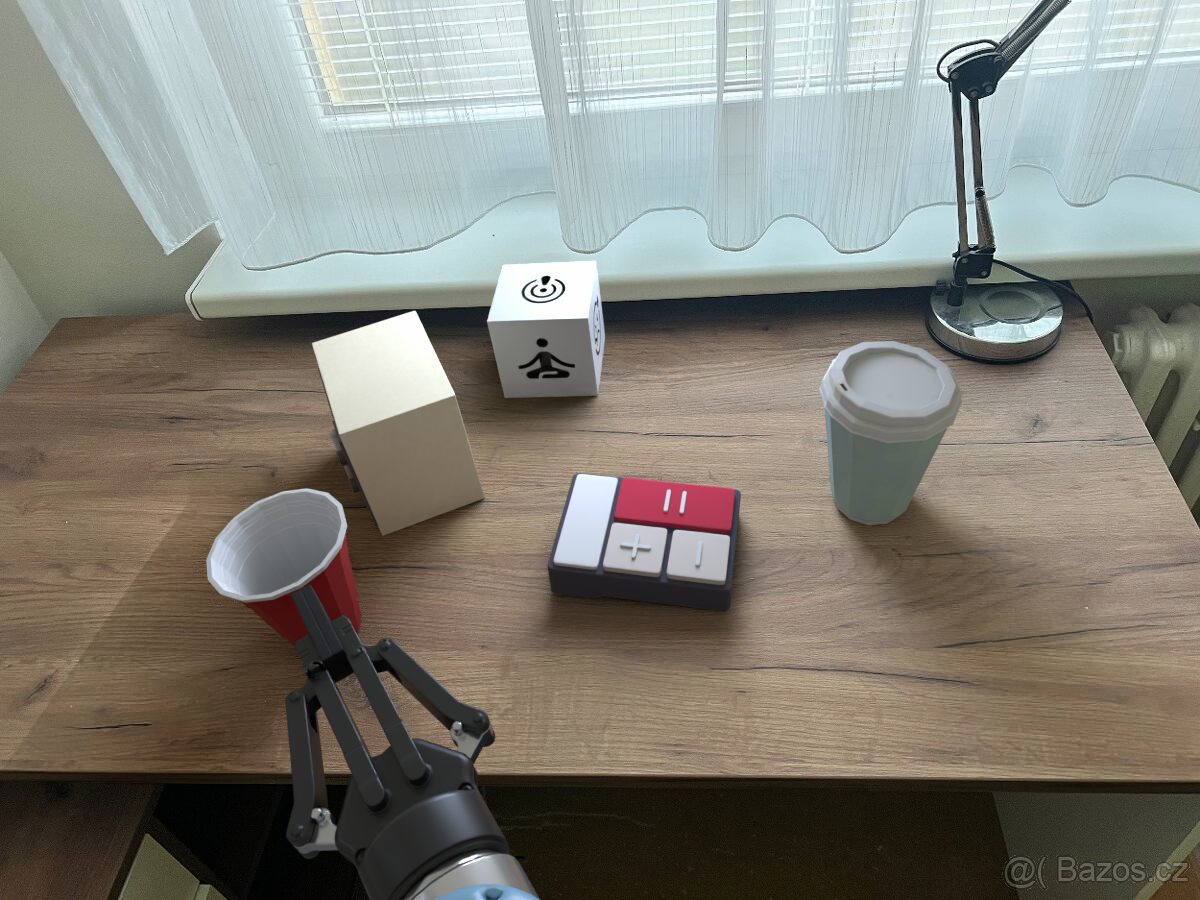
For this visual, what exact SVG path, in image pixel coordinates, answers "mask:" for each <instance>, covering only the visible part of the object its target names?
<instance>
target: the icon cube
mask: <svg viewBox="0 0 1200 900" xmlns="http://www.w3.org/2000/svg"><path fill="white" fill-rule="evenodd" d="M491 302H492V303H491V306H490V309H489V313H488V316H487V317H488V318H487V320H486V323H487V327H488V331H489V336H490V341H491V345H492V349H493V354H494V358H495V361H496V362H495V363H496V367H497V370H498V371H497V372H498V374H499V375H498V376H499V378H500V383H501V388H502V391H503V397H504V399H509V398H511V399H512V398H513V399H514V398H558V397H599V394H600V393H599V391H600V383H601V377H602V376H601V375H602V369H603V368H602V367H603V358H604V351H605V350H604V349H605V342H606V331H605V323H604V315H603V307H602V298H601V290H600V282H599V273H598V266H597V260H583V261H580V260H579V261H559V262H535V263H513V264H512V263H511V264H502V266H501V270H500V273H499V277H498V280H497V285H496V288H495V292H494V295H493V298H492V301H491Z"/></svg>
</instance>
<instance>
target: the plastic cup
mask: <svg viewBox="0 0 1200 900" xmlns="http://www.w3.org/2000/svg"><path fill="white" fill-rule="evenodd" d="M347 528H348V524H347V520H346V516H345V512H344V507H343V504H342V503H341V502H339V501H338V500H337V499H336V498H335V497H334V496H333V495H331V494H330V493H329V492H326V491H321V490H317V489H311V488H300V489H292V490H291V489H290V490H283V491H280V492H277V493H275V494H273V495H270V496H267V497H265V498H262V499H260V500H258V501H256V502H254V503H253V504H251V505H250V506H249V507H247V508H245V509H244V510H243V511H241V512H240V513H238V514H237V515H235V516H234V517H233V518H231V520H230V521H229V522H228V523H227V524H226V526H225V527H224V528H223V529H222V530H221V531H220V532H219V534H218V535H217V536H216V537H215V538H214V541H213V543H212V545H211V548H210V550H209V553H208V555H207V558H206V560H205V562H206V573H207V581H208V582H209V583H210V584H211V585H212V587H214V589H215V590H216V591H217V592H218V593H219V594H220V595H221V596H223V597H225V598H228V599H232V600H235V601H237V602H239V603H242V604H243V605H244V606H245V607H246V608H248V609H250V610H252V611H253V612H254V613H255V614H256V615H257V616H258V617H259V618H261V620H263V621H264V622H265V623H266V624H267V625H268V626H269V627H270V628H272V629H273V631H275V632H276V633H277V634H278V635H279V636H280V637H282V638H284V639H286V641H288V642H289V643H290V644H291V645H292V646H293V647H294V648H295V649H296V641H297V640H299V639H301V638H303V637H305V636H307V635H308V634H309V633H308V631H307V629H306V627H305V625H304V623H303V621H302V618H301V616H300V614H299V612H298V610H297V608H296V606H295V604H294V602H293V600H292V598H291V594H293V593H295V592H297V591H299V590H301V589H303V588H304V587H306V586H308V585H310V584H311V586H312V588H313V590H314V591H315V593H316V595H317V597H318V598H319V600H320V602H321V604H322V605H323V607H324V609H325V611H326V613H327V615H328V617H329V619H330V621H333V620H335V619H337V618H339V617H341V616H342V615H344V616H345V617H347V618H349V620H350V622H351V624H352V626H353V628H354V629H355V631H356V633H357V635H358V634H359V632H360V630H361V629H360V628H361V624H362V611H361V608H360V603H359V593H358V589H357V585H356V580H355V577H354V573H353V568H352V564H351V560H350V556H349V553H350V551H349V547H348V544H347V543H348V540H347Z"/></svg>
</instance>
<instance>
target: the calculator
mask: <svg viewBox="0 0 1200 900" xmlns="http://www.w3.org/2000/svg"><path fill="white" fill-rule="evenodd" d="M741 493H742V492H741V491H740V490H739V489H736V488H730V487H722V486H711V485H702V484H693V483H683V482H675V481H664V480H653V479H645V478H635V477H620V476H611V475H603V474H602V475H601V474H593V473H582V472H575V473H574V474H573V475H572V478H571V482H570V485H569V488H568V492H567V495H566V500H565V503H564V506H563V510H562V513H561V517H560V520H559V524H558V527H557V531H556V534H555V538H554V541H553V544H552V547H551V552H550V555H549V559H548V563H547V573H548V580H549V585H550V591H551V593H553V594H554V595H560V596H561V595H562V596H568V597H577V598H584V599H590V600H591V599H592V600H594V599H597V598H602V597H607V598H615V599H622V600H623V599H625V600H631V601H632V600H633V601H639V602H646V603H647V602H649V603H654V604H662V605H671V606H678V607H687V608H694V609H701V610H702V609H703V610H710V611H718V612H727V611H728V610H729V609H730V605H731V599H732V587H733V577H734V567H735V558H736V557H735V556H736V547H737V537H738V529H739V518H740V510H741V509H740V508H741V497H742V494H741Z"/></svg>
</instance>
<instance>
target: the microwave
mask: <svg viewBox="0 0 1200 900" xmlns="http://www.w3.org/2000/svg"><path fill="white" fill-rule="evenodd" d="M311 346H312V350H313V352H314V356H315V358H316V363H317V366H318V368H317V370H318V373H319V377H320V381H321V383H322V386H323V390H324V394H325V397H326V400H327V403H328V406H329V409H330V413H331V417H332V425H333V428H334V429H331V431H330V432H329V436H330V439H331V441H332V443H333V446H334V448H335V450H336V455H337V458H338V461H339V463H340V465H341V467H343V468H344V471H345V472H346V475H347V477H348V482H349V484H350V487H351V491H352V492H353V494H359V493H360V495H361V498H362V500H363V502H364V503H365V507H366V509H367V511H368V514H369V516H370V518H371V520H372V522H373V525H374V527H375V528H376V529H377V528H378V529H379V532H380V533H381V536H383V537H384V536H386V535H389V534H392V533H395V532H398V531H400V530H402V529H405V528H408V527H411V526H414V525H416V524H418V523H423V522H425V521H427V520H429V519H430V520H431V519H433V518H435V517H437V516H440V515H443V514H445V513H448V512H451V511H455V510H456V509H459V508H461V507H464V506H467V505H470V504H473V503H476V502H478V501H481V500H484V499H485V494H484V490H483V486H482V483H481V480H480V476H479V473H478V469H477V465H476V462H475V460H474V455H473V452H472V448H471V445H470V444H471V443H470V441H469V437H468V434H467V430H466V428H465V427H466V426H465V424H464V420H463V417H462V414H461V410H460V406H459V403H458V399H457V396H456V394H455V391H454V389H453V387H452V385H451V383H450V381H449V379H448V377H447V374H446V372H445V370H444V368H443V366H442V363H441V362H440V359H439V357H438V356H437V353H436V352H435V349H434V347H433V345H432V343H431V341H430V338H429V337H428V334H427V332H426V329H425V328H424V326H423V323H422V322H421V320H420V317H419V315H418V313H417V311H416V310H412V311H409V312H405V313H403V314H400V315H397V316H393V317H390V318H387V319H383V320H380V321H378V322H374V323H371V324H368V325H365V326H361V327H359V328H356V329H352V330H349V331H346V332H343V333H339V334H336V335H333V336H330V337H327V338H324V339H320V340H318V341H314V342H312V343H311Z"/></svg>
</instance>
